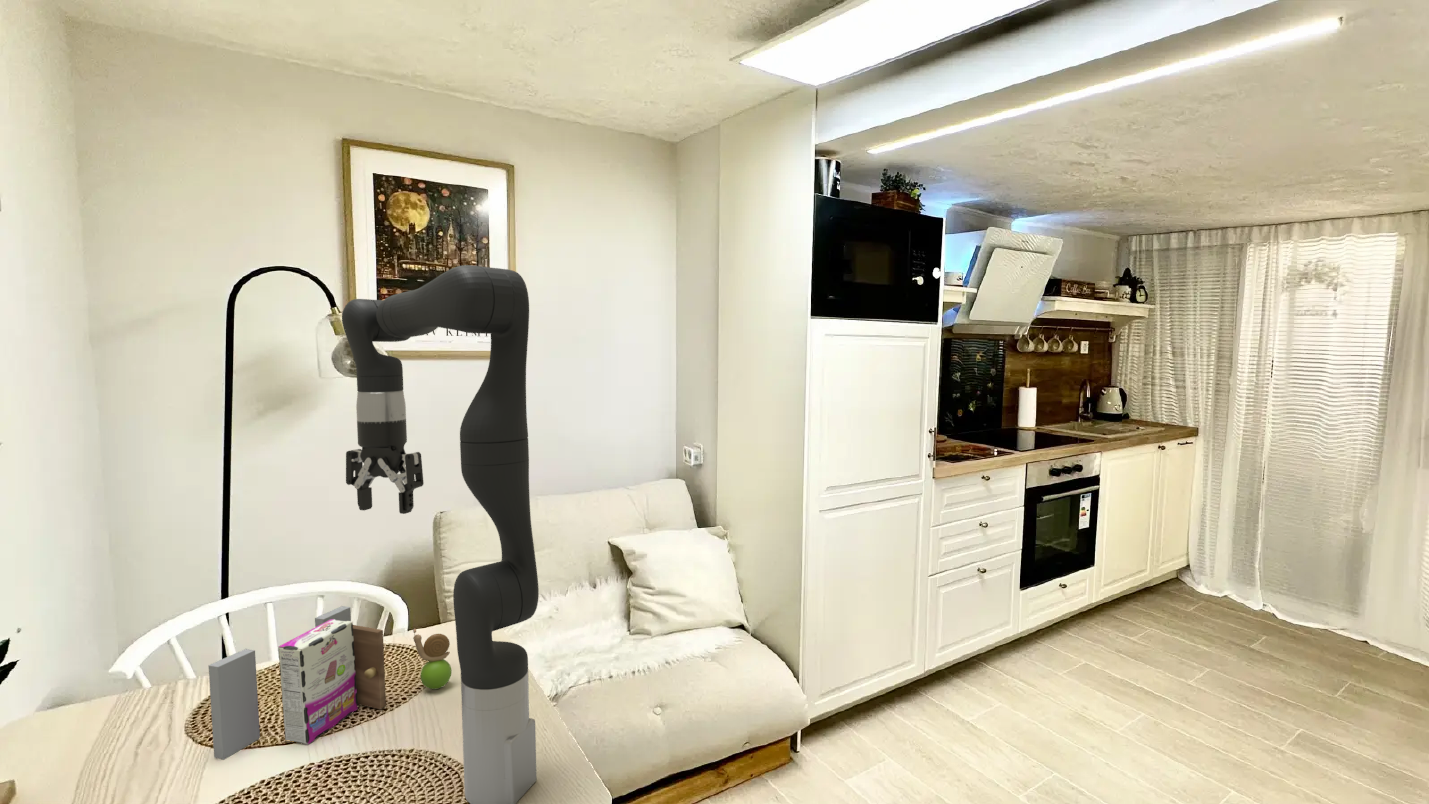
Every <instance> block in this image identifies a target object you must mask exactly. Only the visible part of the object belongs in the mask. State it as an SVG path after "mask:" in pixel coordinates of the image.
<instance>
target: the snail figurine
mask: <svg viewBox="0 0 1429 804" xmlns="http://www.w3.org/2000/svg"><path fill="white" fill-rule="evenodd" d="M413 633H414V635H413V638H412V639H413V642H414V645H415V648H416V651H417V654H418V656H419V657H420V658H421V659H422V660H424V661H426V663H425V664H424V665H423V667H422V668H421V671H420V682H421V683H422V686H424V687H426V688H427V689H430V690H438V689H440V688H441V689H442V688H443V687H444V686H446V685H447V684H448V682H449V681H450V679H451V678H452V677H451V676H452V667H451V664H450V663H449V662H448V660H445V659H446V658H447V657H448V656H449V655H450V654H451V653H450V651H448V650H449V649H450V645H451V644H450V639H449V638H448V637H447V636H446V635H445V634H443V633H433V634H432V635H430V636H429V637H427V638H426V640H425V641H424V643H422V635H421V634H419V633H418V634H416V633H417V629H416V628H413Z"/></svg>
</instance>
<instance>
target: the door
mask: <svg viewBox="0 0 1429 804" xmlns="http://www.w3.org/2000/svg"><path fill="white" fill-rule="evenodd" d="M353 638H354V653H355V670H356V686H357V701H358V705H359V706H360V705H361V706H365V707H370V708H374V709H379V710H382V709H383V708H385V707H386V706H387V699H386V671H385V651H384V650H385V646H384V630H383V629H379V628H373V627H368V626H362V625H357V624H353Z"/></svg>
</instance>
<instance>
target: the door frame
mask: <svg viewBox="0 0 1429 804" xmlns="http://www.w3.org/2000/svg"><path fill="white" fill-rule="evenodd" d="M330 619H336V620H344V621H352V613H351V606H345V605H341V606H338V607H337V608H334V609H332V610H329V611H328V612H325V613H323V614H321V615H318V616H316V617H314V628H315V627H317V626H319V625H321V624H323V623H325V622H327V621H329V620H330ZM257 676H258V675H257V663H256V650H255V649H250V648H244V649H241V650H240V651H238V652H235V653H233V654H231V655H229V656H227V657H224V658H222V659H219V660H216V661H215V662H213V663H210V664H208V677H209V678H208V680H209V681H208V682H209V694H210V695H209V696H210V714H211V727H212V728H211V730H212V742H213V743H212V744H213V745H212V747H213V757H214V759H219V760H223V761H224V760H226V759H227V758H229V757H231V756H233V755H235V754H236V753H238V752H239V751H242V749H244V748H246V747H248V746H250V745H251V744H253V743H254V742H257V741H258V740H260V739H261V733H260V715H259V699H258V698H259V697H258V677H257ZM259 738H260V739H259Z"/></svg>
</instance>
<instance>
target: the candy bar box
mask: <svg viewBox="0 0 1429 804" xmlns="http://www.w3.org/2000/svg"><path fill="white" fill-rule="evenodd" d="M353 623H354V622H353V621H352V620H351V621H344V620H336V619H330V620H329V621H327V622H325V623H323V624H321V625H319V626H317V627H315V626H314V627H313V628H311V629H309V630H307V631H305V632H304V633H302V634H300V635H297V636H296V637H293V638H292V639H290V640H288V641H286V642H285V643H283V644H280V645H279V646H278V659H279V660H278V661H279V674H280V686H281V701H282V702H281V703H282V713H283V729H284V740H290V741H294V742H297V743H296V744H301V743H302V744H301V745H307V744H308V745H310V744H312V743H313V742H315V741H316V740H318V738H320V737H321V736H323V735H324V734H326V733H327V732H328V731H330V730H331V729H333V728H334V727H335V726H337V725H338V724H339V723H341V722H342V721H343V720H345V719H347V718H348V717H349V716H350V715H351V713H352V712H353V713H355V712H356V711H357V710H358V709H359V704H358V701H357V686H356V670H355V653H354V638H353V625H354V624H353ZM354 711H355V712H354ZM353 713H352V714H353ZM347 716H348V717H347ZM340 721H341V722H340ZM336 724H337V725H336ZM329 729H330V730H329Z"/></svg>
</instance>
